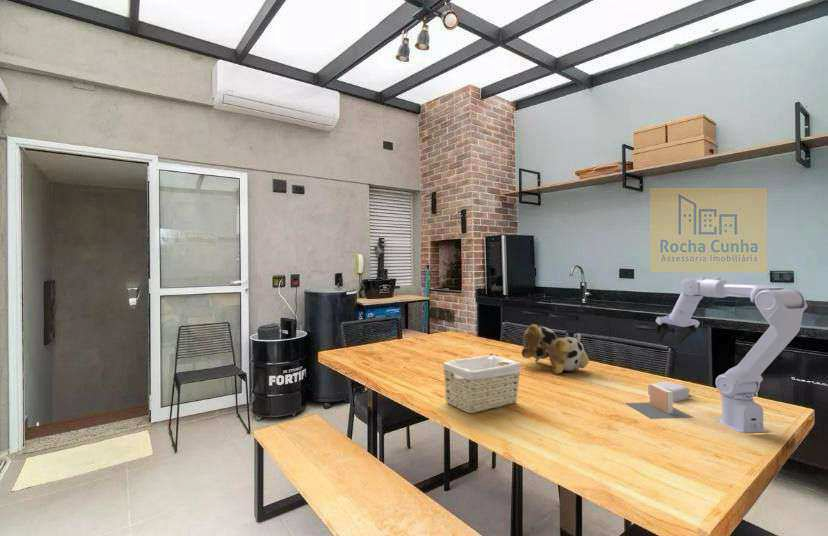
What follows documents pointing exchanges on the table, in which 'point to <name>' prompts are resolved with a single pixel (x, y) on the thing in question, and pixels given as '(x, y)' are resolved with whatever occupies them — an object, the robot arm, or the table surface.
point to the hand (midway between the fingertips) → (668, 340)
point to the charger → (674, 390)
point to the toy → (554, 349)
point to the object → (481, 382)
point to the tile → (661, 398)
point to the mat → (656, 411)
